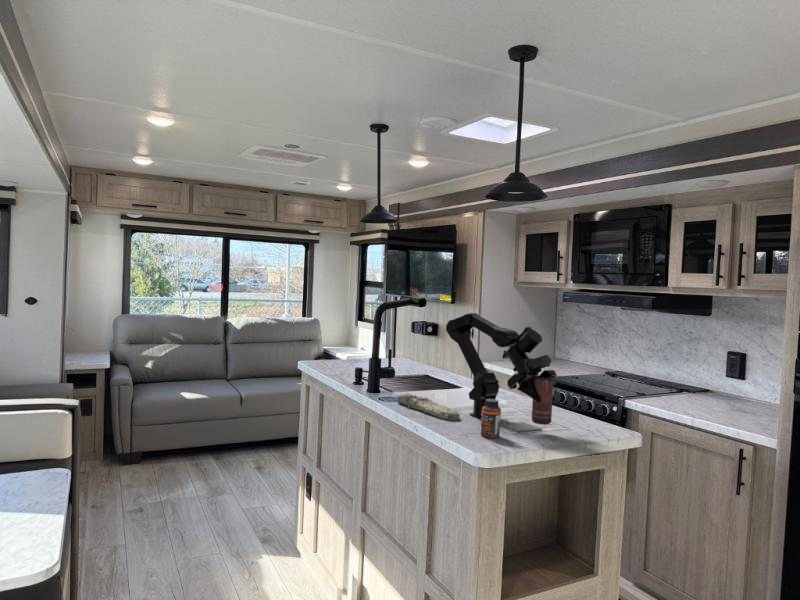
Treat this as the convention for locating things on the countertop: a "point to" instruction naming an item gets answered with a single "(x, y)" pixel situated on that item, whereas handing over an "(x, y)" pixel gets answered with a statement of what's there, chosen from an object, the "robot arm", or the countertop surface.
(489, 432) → the supplement bottle
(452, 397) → the countertop surface
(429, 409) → the elongated rock
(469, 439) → the countertop surface
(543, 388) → the can
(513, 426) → the mat
